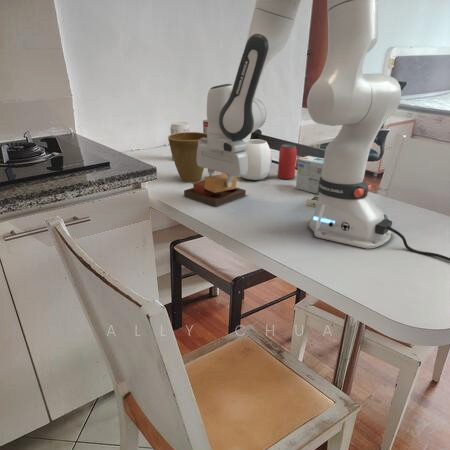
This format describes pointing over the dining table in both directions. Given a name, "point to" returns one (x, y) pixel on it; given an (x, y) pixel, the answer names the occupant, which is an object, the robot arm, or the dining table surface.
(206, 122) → the canned food
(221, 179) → the orange rectangular block
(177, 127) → the supplement can
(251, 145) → the white faceted vase
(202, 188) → the reddish brown rectangular block
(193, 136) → the plant pot
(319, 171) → the light bulb box
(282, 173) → the beer can
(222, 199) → the dark brown square tray
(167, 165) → the dining table surface
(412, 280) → the dining table surface
